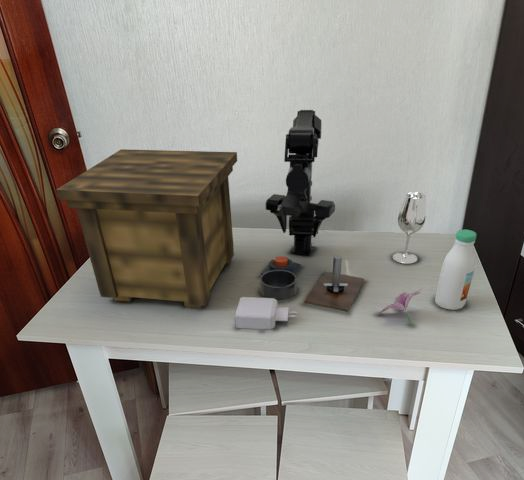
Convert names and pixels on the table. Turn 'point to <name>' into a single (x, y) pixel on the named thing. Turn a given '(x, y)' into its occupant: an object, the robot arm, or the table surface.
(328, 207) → the robot arm
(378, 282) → the table surface
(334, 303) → the cutting board
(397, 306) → the lily
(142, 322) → the table surface
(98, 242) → the crate
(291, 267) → the button block
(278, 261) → the button
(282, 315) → the charger
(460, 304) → the milk bottle
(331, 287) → the blade
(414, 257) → the wineglass
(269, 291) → the dark fan housing
